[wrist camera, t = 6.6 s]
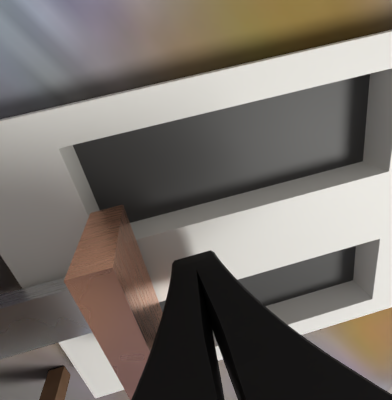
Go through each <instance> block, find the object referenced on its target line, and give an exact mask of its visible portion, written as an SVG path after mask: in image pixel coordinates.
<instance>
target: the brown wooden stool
mask: <svg viewBox="0 0 392 400" xmlns="http://www.w3.org/2000/svg"><path fill="white" fill-rule="evenodd" d="M69 379H70V374H69V372H68V371H67V369H66V368H65V367H64V366H63V367H60V368H56V369H53V370H50V371H48V374H47V378H46V381H45V384H44V387H43V390H42V393H41V396H40V399H39V400H64V399H65V395H66V391H67V387H68V383H69Z"/></svg>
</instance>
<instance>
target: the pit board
mask: <svg viewBox="0 0 392 400" xmlns="http://www.w3.org/2000/svg"><path fill="white" fill-rule="evenodd" d="M119 205H123V206H124V209H125V211H126V214H127V217H128V220H129V222H130V225H131V228H132V230H133V233H134V236H135V239H136V241H137V244H138V247H139V249H140V252H141V255H142V258H143V260H144V263H145V266H146V269H147V271H148V274H149V277H150V279H151V282H152V285H153V288H154V290H155V293H156V296H157V299H158V301H159V304H160V307H161V309H162V312H163V310H164V306H165V302H166V298H167V294H168V289H169V284H170V278H171V271H172V263H173V262H174V260H178V259H181V258H185V257H188V256H192V255H196V254H199V253H203V252H206V251H210V250H211V251H213V252H215V254H216V256H217V257H218V258H219V260H220V261H221V262H222V263H223V265H224V266H225V267H226V268H227V269H228V270H229V272H230V273H231V274H232V275H233V276H234V277H235V278H236V279H237V280H238V281H239V282H240V283H241V284H242V285H243V286H244V287H245V288H246V289H247V290H248V291H249V292H250V293H251V294H252V295H253V296H254V297H255V298H257V299H258V300H259V301H260V302H261V303H262V304H263V305H264V306H266V307H267V308H268V309H269V310H270V311H271V312H272V313H274V314H275V315H276V316H277V317H278V318H280V319H281V320H282V321H283V322H285V323H286V324H287V325H288V326H290V327H291V328H292V329H294V330H295V331H296V332H298V333H299V334H300V335H303V334H306V333H309V332H313V331H316V330H319V329H322V328H325V327H329V326H332V325H335V324H338V323H342V322H345V321H348V320H351V319H355V318H358V317H361V316H364V315H368V314H371V313H374V312H377V311H381V310H384V309H387V308H390V307H392V30H388V31H384V32H379V33H375V34H371V35H366V36H362V37H358V38H353V39H349V40H344V41H340V42H336V43H331V44H327V45H323V46H318V47H314V48H310V49H305V50H301V51H296V52H292V53H288V54H283V55H279V56H275V57H270V58H266V59H261V60H257V61H253V62H248V63H244V64H240V65H235V66H231V67H227V68H222V69H218V70H213V71H209V72H205V73H200V74H196V75H192V76H187V77H183V78H179V79H174V80H170V81H165V82H161V83H157V84H152V85H148V86H144V87H139V88H135V89H130V90H126V91H122V92H117V93H113V94H109V95H104V96H100V97H96V98H91V99H87V100H82V101H78V102H74V103H69V104H65V105H61V106H56V107H52V108H48V109H43V110H39V111H34V112H30V113H26V114H21V115H17V116H13V117H8V118H4V119H0V255H1V257H2V258H3V260H4V261H5V263H6V264H7V266H8V267H9V269H10V270H11V272H12V273H13V275H14V277H15V278H16V280H17V281H18V283H19V284H20V286H21V287H22V289H24V288H27V287H31V286H35V285H38V284H42V283H45V282H49V281H53V280H56V279H60V278H64V277H65V276H66V274H67V271H68V269H69V266H70V264H71V261H72V258H73V256H74V253H75V251H76V248H77V246H78V243H79V241H80V238H81V235H82V233H83V230H84V228H85V225H86V223H87V220H88V218H89V215H90V213H92V212H96V211H100V210H104V209H108V208H112V207H115V206H119ZM212 331H213V330H212ZM213 336H214V333H213ZM214 342H215V348H216V354H217V359H218V360H222V359H223V357H222V355H221V352H220V349H219V347H218V344H217V341H216V338H215V336H214ZM58 343H59V344H60V346H61V347H62V349H63V350H64V352H65V353H66V355H67V356H68V358H69V359H70V361H71V362H72V364H73V365H74V367H75V368H76V370H77V371H78V373H79V374H80V376H81V377H82V379H83V380H84V382H85V383H86V385H87V386H88V388H89V389H90V391H91V392H92V394H93V395H94V397H95V398H98V397H102V396H105V395H108V394H111V393H115V392H118V391H121V390H124V388H123V386H122V384H121V382H120V381H119V379H118V377H117V375H116V373H115V372H114V370H113V368H112V366H111V365H110V363H109V361H108V359H107V357H106V356H105V354H104V352H103V350H102V349H101V347H100V345H99V343H98V341H97V340H96V338H95V336H94V334H93V332H92V333H89V334H86V335H82V336H79V337H75V338H72V339H68V340H65V341H62V342H58Z"/></svg>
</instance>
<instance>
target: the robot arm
mask: <svg viewBox="0 0 392 400" xmlns="http://www.w3.org/2000/svg"><path fill="white" fill-rule="evenodd" d="M212 330H213V331H212ZM213 333H214V336H215V338H216V341H217V344H218V347H219V349H220V352H221V355H222V357H223V360H224V363H225V365H226V368H227V371H228V374H229V376H230V379H231V382H232V384H233V387H234V390H235V393H236V395H237V398H238V400H392V394H390V393H389V392H387V391H385V390H383V389H382V388H380V387H378V386H377V385H375V384H374V383H372V382H371V381H369V380H367V379H366V378H364V377H363V376H361V375H360V374H358V373H356V372H355V371H353V370H352V369H350V368H349V367H347V366H345V365H344V364H342V363H341V362H339V361H338V360H336V359H334V358H333V357H331V356H330V355H328V354H327V353H325V352H324V351H323V350H321V349H320V348H318V347H317V346H316V345H314V344H313V343H311V342H310V341H308V340H307V339H306V338H304V337H303V336H302V335H300V334H299V333H298V332H296V331H295V330H294V329H292V328H291V327H290V326H288V325H287V324H286V323H285V322H283V321H282V320H281V319H280V318H278V317H277V316H276V315H275V314H274V313H272V312H271V311H270V310H269V309H268V308H267V307H266V306H264V305H263V304H262V303H261V302H260V301H259V300H258V299H257V298H255V297H254V296H253V295H252V294H251V293H250V292H249V291H248V290H247V289H246V288H245V287H244V286H243V285H242V284H241V283H240V282H239V281H238V280H237V279H236V278H235V277H234V276H233V275H232V274H231V273H230V272H229V270H228V269H227V268H226V267H225V266H224V265H223V263H222V262H221V261H220V260H219V258H218V257H217V256H216V254H215V252H213V251H211V250H210V251H206V252H203V253H199V254H196V255H192V256H188V257H185V258H181V259H178V260H174V262H173V263H172V271H171V278H170V284H169V289H168V294H167V298H166V302H165V306H164V310H163V314H162V317H161V321H160V324H159V327H158V330H157V333H156V336H155V339H154V342H153V346H152V348H151V351H150V354H149V357H148V360H147V362H146V365H145V367H144V370H143V372H142V375H141V377H140V380H139V382H138V385H137V387H136V390H135V392H134V394H133V396H132V399H131V400H224V394H223V388H222V383H221V377H220V371H219V365H218V359H217V354H216V348H215V342H214V336H213Z"/></svg>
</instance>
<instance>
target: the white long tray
mask: <svg viewBox="0 0 392 400" xmlns="http://www.w3.org/2000/svg"><path fill="white" fill-rule="evenodd" d="M162 314H163V312H162V309H161V307H160V304H159V301H158V299H157V296H156V293H155V290H154V288H153V285H152V282H151V279H150V277H149V274H148V271H147V269H146V266H145V263H144V260H143V258H142V255H141V252H140V249H139V247H138V244H137V241H136V239H135V236H134V233H133V230H132V228H131V225H130V222H129V220H128V217H127V214H126V211H125V209H124V206H123V205H119V206H115V207H112V208H108V209H104V210H100V211H96V212H92V213H90V215H89V218H88V220H87V223H86V225H85V228H84V230H83V233H82V235H81V238H80V241H79V243H78V246H77V248H76V251H75V253H74V256H73V258H72V261H71V264H70V266H69V269H68V271H67V274H66V276H65V277H64V278H60V279H56V280H53V281H49V282H45V283H42V284H38V285H35V286H31V287H27V288H24V289H20V290H16V291H13V292H9V293H5V294H2V295H0V359H3V358H6V357H10V356H13V355H17V354H20V353H24V352H27V351H31V350H34V349H37V348H41V347H44V346H48V345H51V344H55V343H58V342H62V341H65V340H68V339H72V338H75V337H79V336H82V335H86V334H89V333H92V332H93V334H94V336H95V338H96V340H97V341H98V343H99V345H100V347H101V349H102V350H103V352H104V354H105V356H106V357H107V359H108V361H109V363H110V365H111V366H112V368H113V370H114V372H115V373H116V375H117V377H118V379H119V381H120V382H121V384H122V386H123V388H124V389H125V391H126V393H127V395H128V397H129V398H130V400H131V399H132V396H133V394H134V392H135V390H136V387H137V385H138V382H139V380H140V377H141V375H142V372H143V370H144V367H145V365H146V362H147V360H148V357H149V354H150V351H151V348H152V346H153V342H154V339H155V336H156V333H157V330H158V327H159V324H160V321H161V317H162Z"/></svg>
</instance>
